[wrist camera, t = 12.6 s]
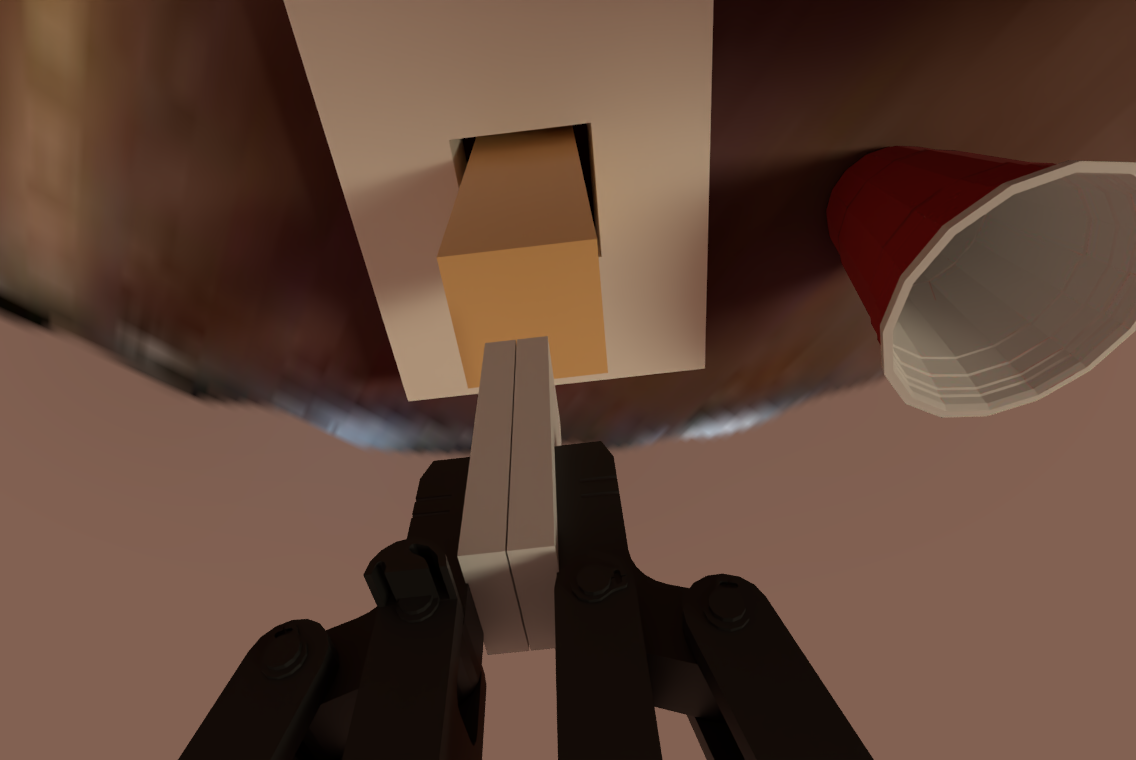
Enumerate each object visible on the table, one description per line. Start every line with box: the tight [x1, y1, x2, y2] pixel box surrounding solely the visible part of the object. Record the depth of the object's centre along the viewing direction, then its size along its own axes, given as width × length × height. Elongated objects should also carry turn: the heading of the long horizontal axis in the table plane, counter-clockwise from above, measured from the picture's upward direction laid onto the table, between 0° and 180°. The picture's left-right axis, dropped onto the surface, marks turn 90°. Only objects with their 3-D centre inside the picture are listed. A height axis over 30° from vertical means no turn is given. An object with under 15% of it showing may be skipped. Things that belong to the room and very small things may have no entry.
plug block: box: [437, 125, 608, 388], centre depth 25 cm, size 4×4×15 cm
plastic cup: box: [826, 146, 1136, 417], centre depth 28 cm, size 11×11×12 cm
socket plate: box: [283, 0, 714, 401], centre depth 29 cm, size 16×20×4 cm
